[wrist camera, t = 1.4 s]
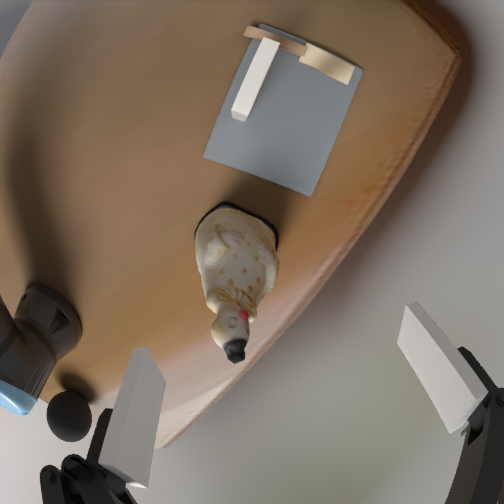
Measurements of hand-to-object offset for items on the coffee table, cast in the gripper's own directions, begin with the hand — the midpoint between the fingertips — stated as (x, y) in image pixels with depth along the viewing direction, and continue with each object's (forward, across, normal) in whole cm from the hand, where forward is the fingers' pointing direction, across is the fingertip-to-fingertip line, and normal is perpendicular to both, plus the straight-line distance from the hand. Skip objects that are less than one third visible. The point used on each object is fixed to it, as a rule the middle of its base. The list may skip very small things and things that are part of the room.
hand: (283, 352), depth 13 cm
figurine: (+26, -3, -5) cm, 27 cm away
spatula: (+26, +10, +20) cm, 34 cm away
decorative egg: (+26, -53, -40) cm, 71 cm away
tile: (+26, +2, +15) cm, 30 cm away
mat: (+26, +6, +13) cm, 30 cm away
